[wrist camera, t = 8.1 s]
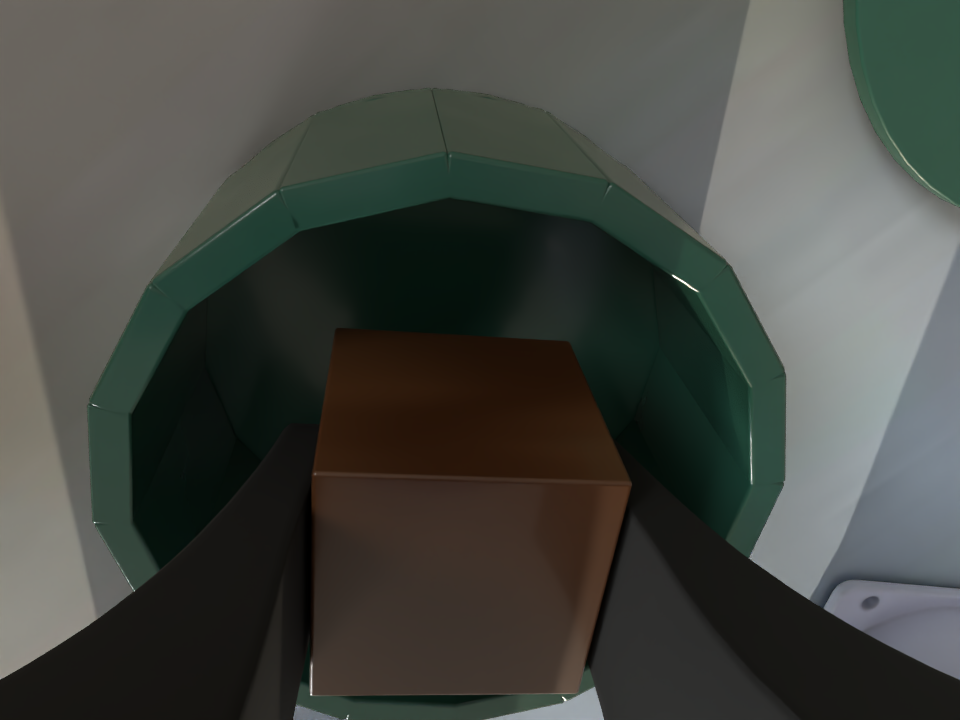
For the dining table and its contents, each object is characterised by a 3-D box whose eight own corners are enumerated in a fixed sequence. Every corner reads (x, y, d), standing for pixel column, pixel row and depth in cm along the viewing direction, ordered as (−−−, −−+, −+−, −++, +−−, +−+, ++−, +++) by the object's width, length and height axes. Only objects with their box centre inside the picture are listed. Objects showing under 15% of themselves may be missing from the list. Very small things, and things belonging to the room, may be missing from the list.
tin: (745, 144, 15) (907, 235, 10) (601, 547, 20) (665, 736, 15) (188, 34, 13) (69, 82, 8) (178, 510, 18) (99, 711, 13)
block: (570, 340, 13) (633, 483, 9) (536, 519, 15) (579, 695, 11) (334, 326, 12) (311, 473, 9) (330, 515, 14) (308, 698, 11)
